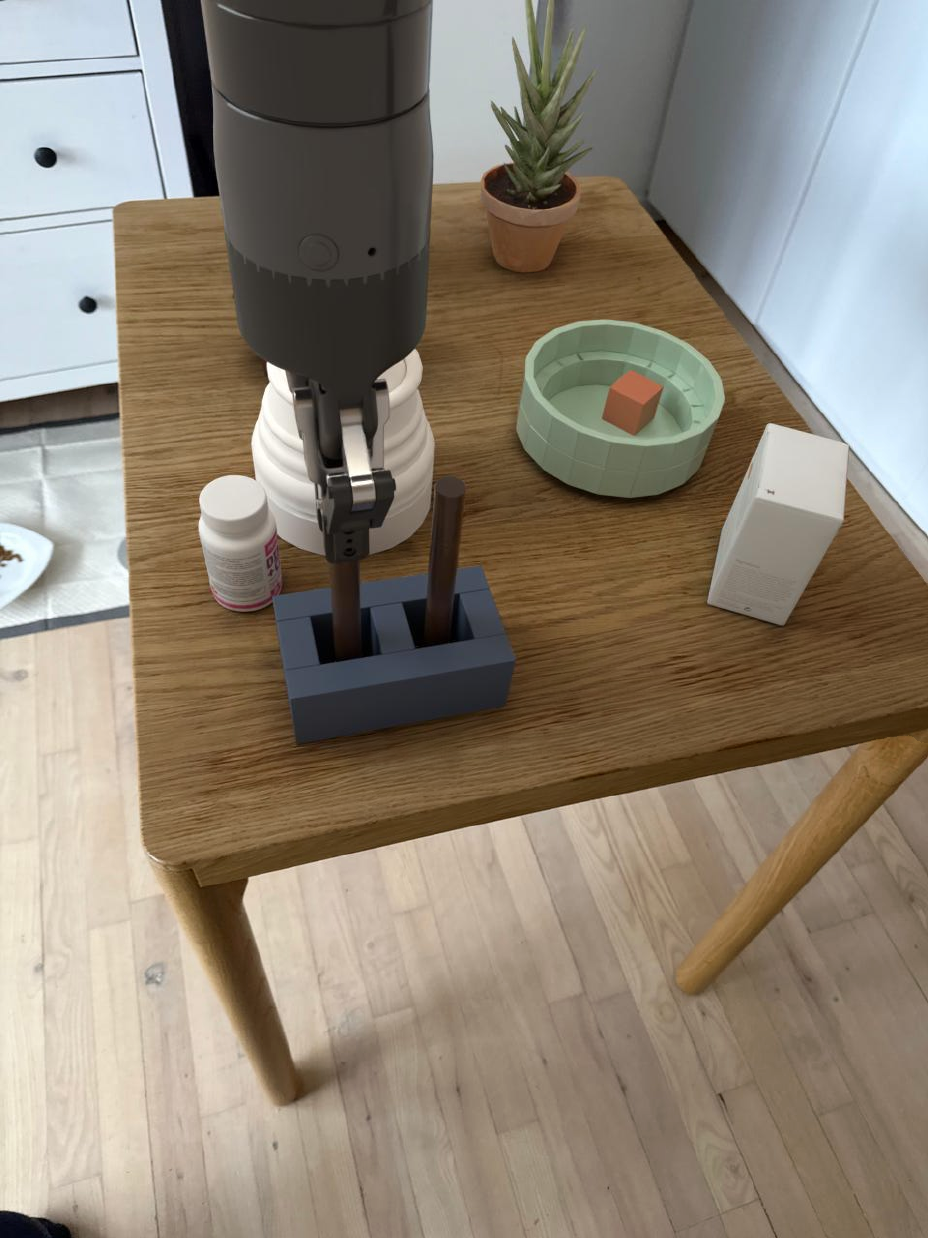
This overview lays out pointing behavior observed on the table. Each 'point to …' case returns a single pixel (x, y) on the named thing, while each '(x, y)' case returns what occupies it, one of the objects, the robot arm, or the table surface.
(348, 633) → the brown rod
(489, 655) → the stand
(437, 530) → the brown wooden peg
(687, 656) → the table surface
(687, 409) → the bowl
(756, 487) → the small box
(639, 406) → the block
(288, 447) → the honey pot
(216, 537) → the pill bottle
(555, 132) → the potted plant
